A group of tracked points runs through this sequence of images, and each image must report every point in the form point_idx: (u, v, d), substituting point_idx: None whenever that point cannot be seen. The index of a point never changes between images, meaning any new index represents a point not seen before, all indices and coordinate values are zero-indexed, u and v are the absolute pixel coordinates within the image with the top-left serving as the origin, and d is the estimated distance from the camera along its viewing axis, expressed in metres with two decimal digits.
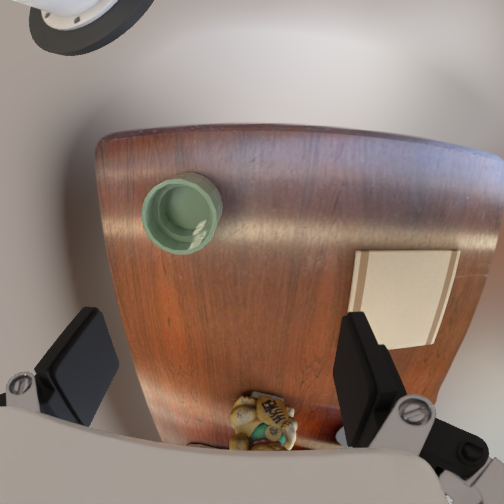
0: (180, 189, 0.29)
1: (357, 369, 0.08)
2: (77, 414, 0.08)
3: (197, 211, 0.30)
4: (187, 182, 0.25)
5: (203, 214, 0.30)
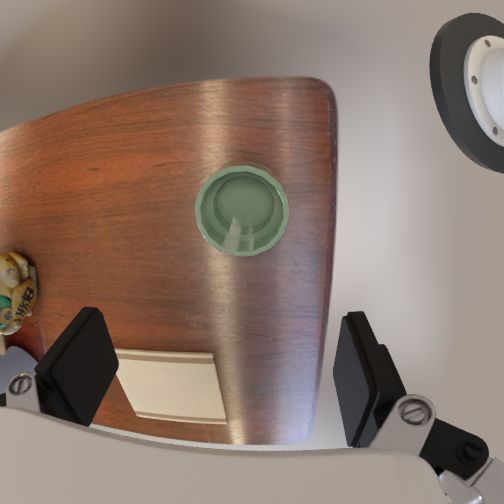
0: (265, 190, 0.25)
1: (357, 369, 0.08)
2: (77, 414, 0.08)
3: (239, 210, 0.26)
4: (284, 225, 0.22)
5: (236, 217, 0.26)
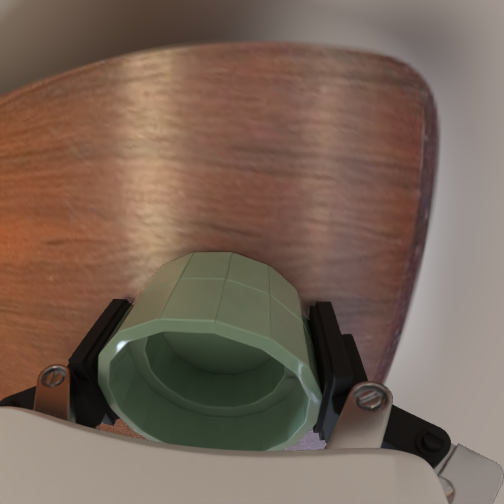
0: None
1: (319, 355, 0.09)
2: (109, 406, 0.09)
3: (209, 347, 0.12)
4: (305, 431, 0.08)
5: (203, 357, 0.12)
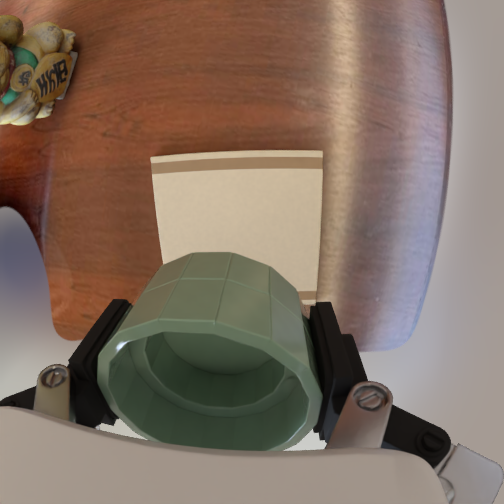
0: None
1: (319, 355, 0.09)
2: None
3: (209, 348, 0.12)
4: (305, 432, 0.08)
5: (203, 357, 0.12)
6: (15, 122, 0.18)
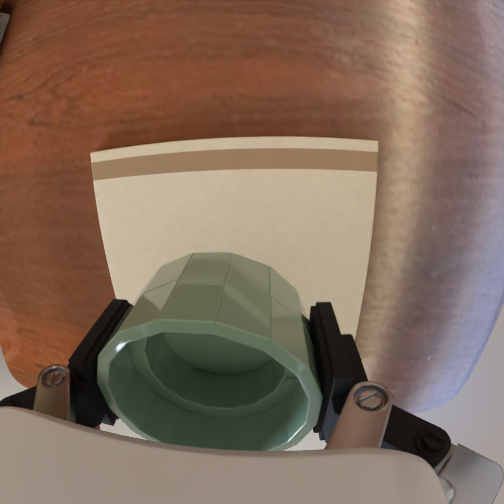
0: None
1: (319, 355, 0.09)
2: None
3: (209, 348, 0.12)
4: (305, 432, 0.08)
5: (202, 357, 0.12)
6: None
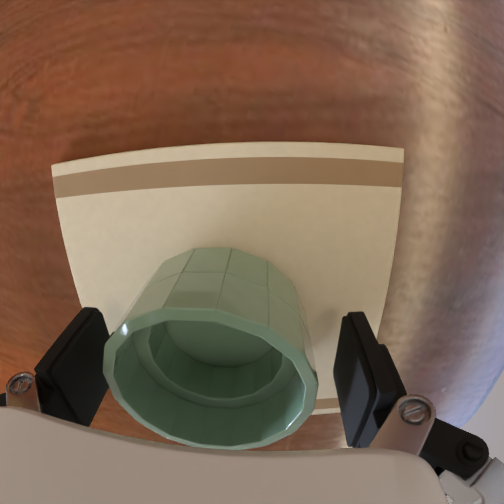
0: None
1: (357, 369, 0.08)
2: (77, 414, 0.08)
3: (209, 340, 0.13)
4: (302, 419, 0.09)
5: (203, 350, 0.13)
6: None
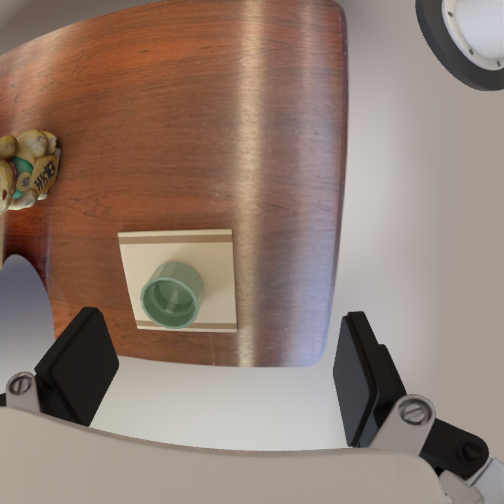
0: None
1: (357, 369, 0.08)
2: (77, 414, 0.08)
3: (173, 293, 0.37)
4: (196, 313, 0.33)
5: (171, 297, 0.37)
6: None
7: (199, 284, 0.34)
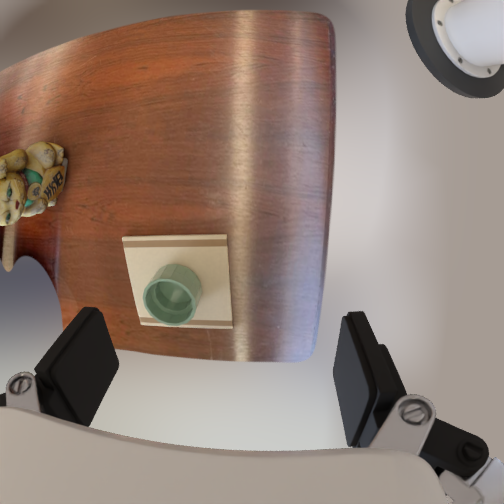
0: None
1: (357, 369, 0.08)
2: (77, 414, 0.08)
3: (174, 293, 0.40)
4: (194, 312, 0.36)
5: (172, 296, 0.40)
6: None
7: (197, 285, 0.38)
